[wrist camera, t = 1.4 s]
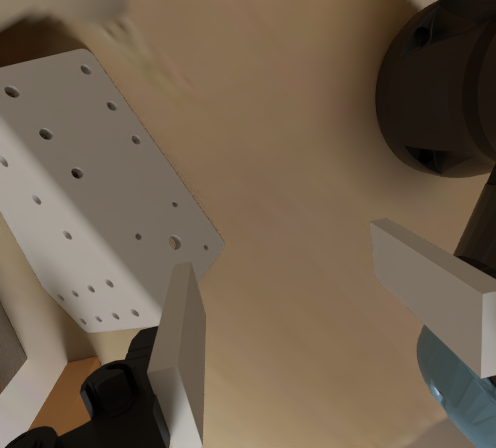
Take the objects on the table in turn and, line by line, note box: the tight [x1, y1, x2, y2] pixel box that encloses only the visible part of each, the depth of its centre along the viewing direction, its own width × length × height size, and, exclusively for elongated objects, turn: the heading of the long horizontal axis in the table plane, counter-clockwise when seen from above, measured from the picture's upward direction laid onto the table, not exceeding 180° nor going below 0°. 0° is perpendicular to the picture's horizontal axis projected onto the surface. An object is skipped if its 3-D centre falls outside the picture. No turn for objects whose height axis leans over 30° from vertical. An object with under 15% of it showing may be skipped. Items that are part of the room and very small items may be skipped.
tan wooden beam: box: [28, 356, 101, 437], centre depth 29 cm, size 3×3×13 cm
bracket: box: [0, 49, 224, 333], centre depth 30 cm, size 13×10×20 cm
